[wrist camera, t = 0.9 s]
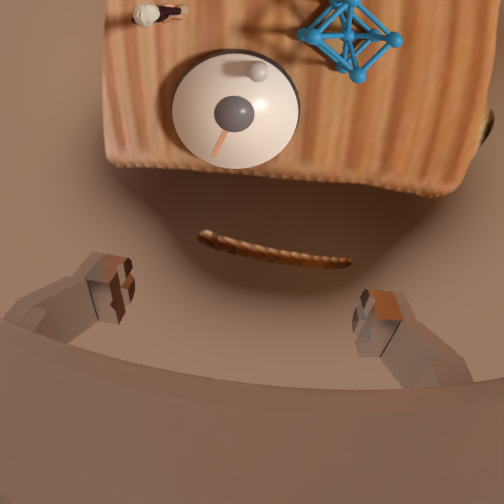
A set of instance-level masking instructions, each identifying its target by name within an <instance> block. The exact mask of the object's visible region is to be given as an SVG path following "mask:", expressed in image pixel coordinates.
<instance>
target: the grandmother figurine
mask: <svg viewBox="0 0 504 504" xmlns="http://www.w3.org/2000/svg"><path fill="white" fill-rule="evenodd" d="M188 12H189V11H188V6H187V5H185V4H180V5H178V6H177V7H174V5H173V4H171V3H165V4H161V5H159V6H156V5H154V4H140V5H137V6H136V8H135V9H134V11H133V19H132V22H133V23H137V24H138V25H139V26H140V27H143V28H144V27H150V26H151V25H152V24H153V22H160V21H162V22H163V23H168V22H170V21H171V20H172V19H173V18H174V19H177V20H183V19H185V17H186V15H187V14H188Z"/></svg>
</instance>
